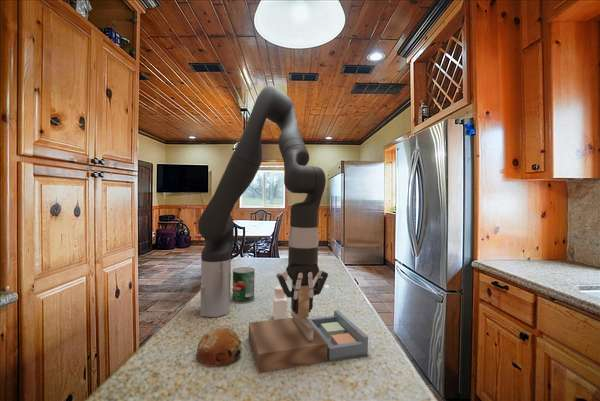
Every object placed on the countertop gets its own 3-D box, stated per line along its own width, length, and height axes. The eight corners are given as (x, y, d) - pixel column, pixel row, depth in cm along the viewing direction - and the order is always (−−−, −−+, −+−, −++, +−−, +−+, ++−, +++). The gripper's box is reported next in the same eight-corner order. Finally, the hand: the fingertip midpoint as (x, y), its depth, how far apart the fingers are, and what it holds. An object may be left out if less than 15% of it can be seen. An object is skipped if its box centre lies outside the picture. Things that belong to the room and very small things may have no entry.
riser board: (258, 372, 62) (258, 354, 62) (248, 337, 77) (248, 322, 77) (327, 360, 67) (327, 343, 67) (304, 330, 82) (305, 316, 82)
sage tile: (344, 329, 78) (344, 335, 78) (336, 321, 83) (336, 327, 83) (327, 331, 77) (327, 337, 77) (320, 323, 81) (320, 329, 81)
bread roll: (229, 356, 75) (221, 324, 77) (253, 352, 69) (244, 318, 71) (194, 374, 67) (186, 338, 69) (218, 371, 61) (209, 332, 63)
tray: (329, 361, 67) (329, 342, 67) (305, 329, 83) (306, 313, 83) (367, 355, 70) (368, 336, 70) (337, 324, 86) (337, 309, 86)
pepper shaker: (274, 321, 88) (274, 290, 88) (272, 315, 92) (272, 286, 91) (287, 319, 89) (287, 289, 89) (284, 314, 93) (284, 285, 92)
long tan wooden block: (305, 341, 67) (306, 294, 66) (288, 315, 80) (289, 276, 80) (316, 339, 68) (318, 293, 67) (297, 314, 81) (299, 275, 80)
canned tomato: (228, 302, 103) (228, 271, 102) (238, 294, 110) (238, 266, 110) (248, 304, 101) (249, 273, 101) (257, 297, 108) (257, 267, 108)
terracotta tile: (357, 342, 71) (357, 348, 71) (348, 332, 76) (348, 338, 76) (339, 344, 70) (339, 351, 70) (330, 335, 75) (330, 341, 75)
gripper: (323, 241, 79) (321, 303, 79) (273, 242, 75) (271, 309, 75) (334, 245, 72) (332, 314, 72) (280, 247, 68) (278, 321, 68)
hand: (301, 311), depth 74 cm, fingers closed on long tan wooden block, 2 cm apart
